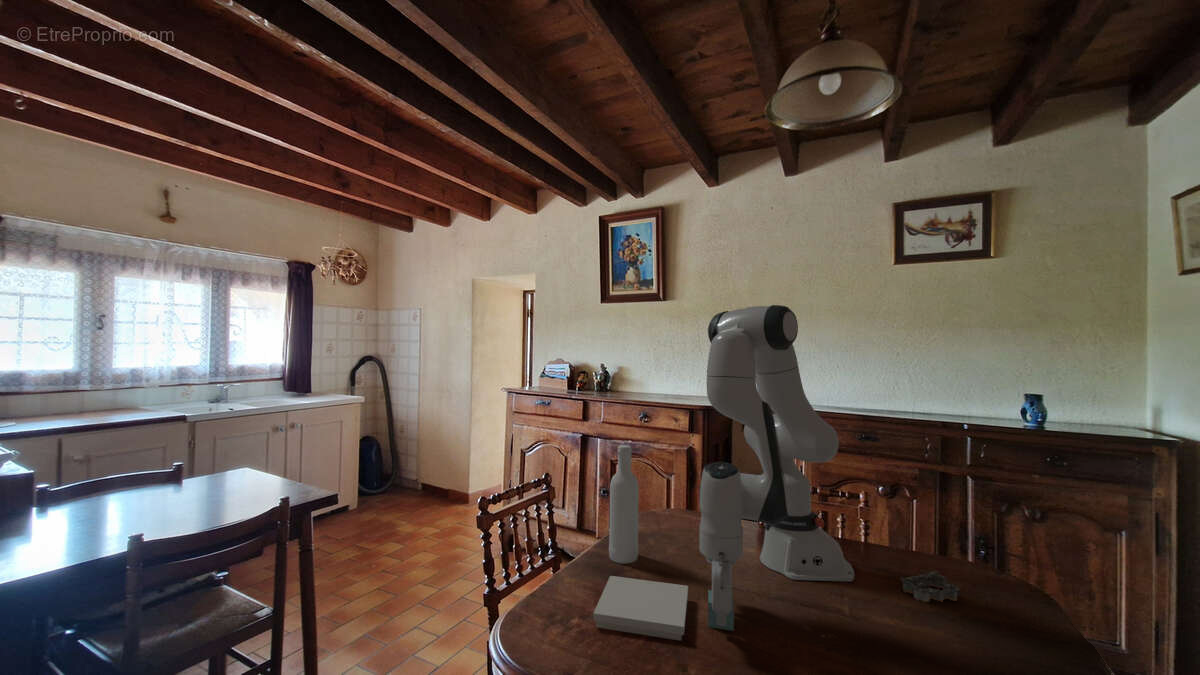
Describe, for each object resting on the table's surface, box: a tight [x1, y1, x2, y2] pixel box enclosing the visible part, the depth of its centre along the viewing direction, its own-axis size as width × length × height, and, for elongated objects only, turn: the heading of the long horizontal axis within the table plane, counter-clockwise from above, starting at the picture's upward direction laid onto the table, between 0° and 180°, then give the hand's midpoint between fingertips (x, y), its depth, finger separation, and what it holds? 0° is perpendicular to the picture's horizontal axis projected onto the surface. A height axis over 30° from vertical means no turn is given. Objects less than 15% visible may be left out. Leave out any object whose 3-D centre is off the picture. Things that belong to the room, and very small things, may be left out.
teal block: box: [707, 589, 735, 631], centre depth 96 cm, size 5×5×5 cm
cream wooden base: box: [592, 575, 689, 641], centre depth 98 cm, size 18×16×3 cm
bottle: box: [608, 444, 640, 565], centre depth 125 cm, size 8×8×30 cm
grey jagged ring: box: [899, 570, 963, 602], centre depth 107 cm, size 11×8×4 cm
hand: (720, 611), depth 96 cm, fingers open, 8 cm apart
